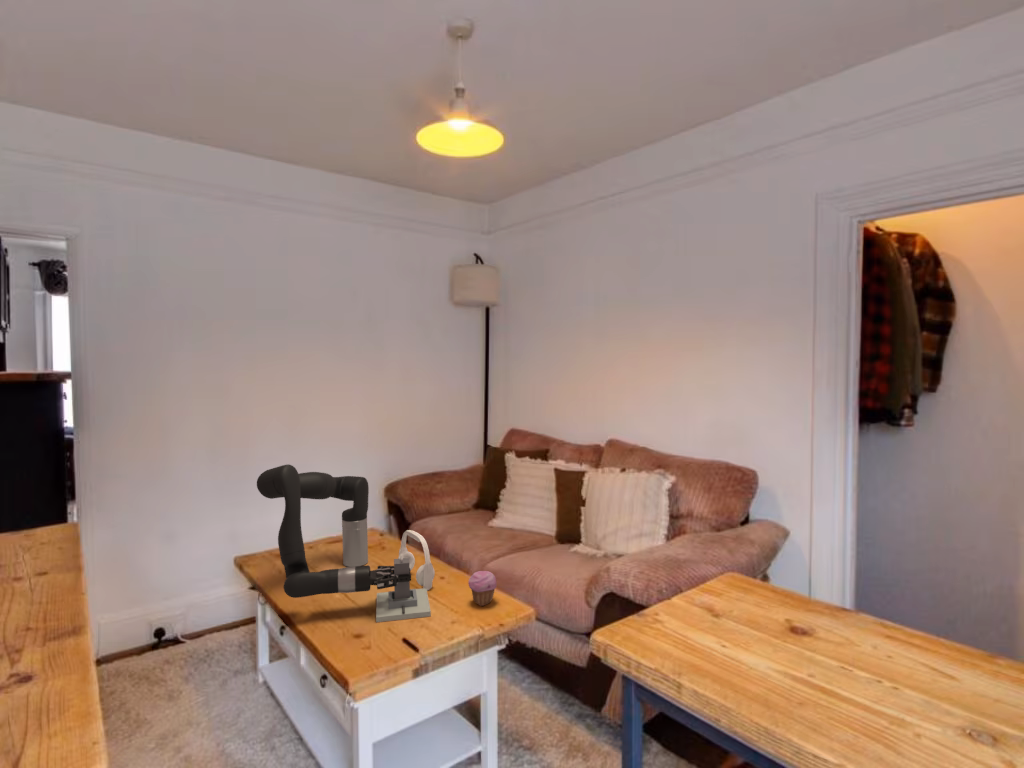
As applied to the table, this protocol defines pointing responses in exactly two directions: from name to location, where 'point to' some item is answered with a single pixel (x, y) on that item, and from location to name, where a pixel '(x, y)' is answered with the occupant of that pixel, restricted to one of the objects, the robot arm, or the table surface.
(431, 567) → the headset
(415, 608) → the charging dock
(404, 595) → the charger block
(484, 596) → the cupcake
